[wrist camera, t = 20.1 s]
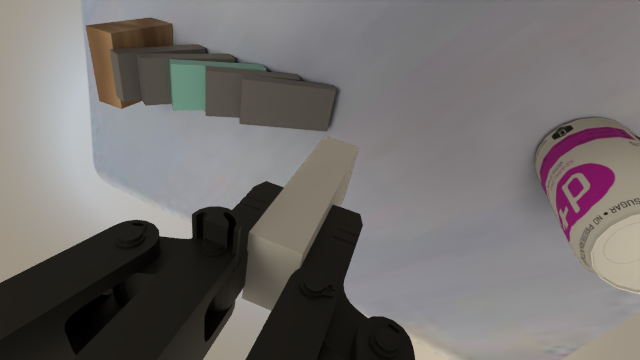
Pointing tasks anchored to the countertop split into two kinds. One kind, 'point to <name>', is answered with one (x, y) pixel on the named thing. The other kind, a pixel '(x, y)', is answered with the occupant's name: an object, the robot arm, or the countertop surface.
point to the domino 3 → (195, 81)
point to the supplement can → (596, 195)
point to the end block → (120, 37)
